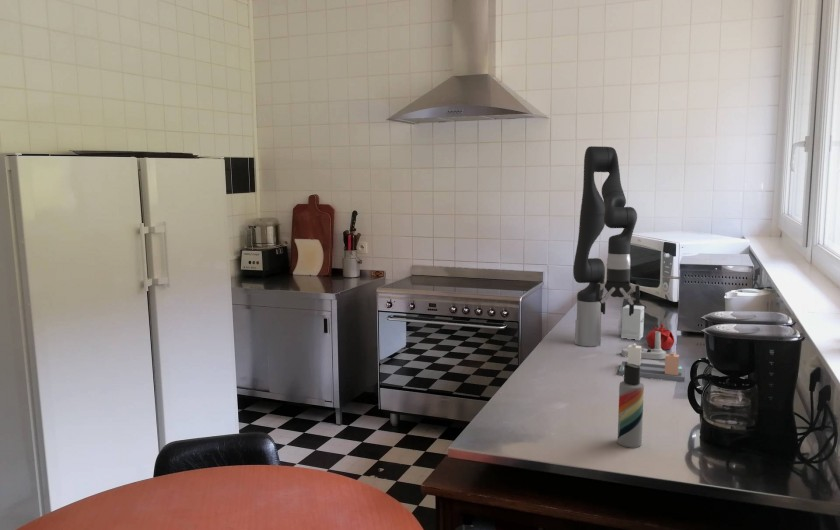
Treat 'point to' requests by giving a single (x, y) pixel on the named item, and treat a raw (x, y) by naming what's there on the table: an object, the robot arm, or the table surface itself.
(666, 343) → the pomegranate
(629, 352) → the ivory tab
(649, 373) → the switch panel
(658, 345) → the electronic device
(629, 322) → the supplement box
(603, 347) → the table surface
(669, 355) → the terracotta tab
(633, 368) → the lotion bottle
